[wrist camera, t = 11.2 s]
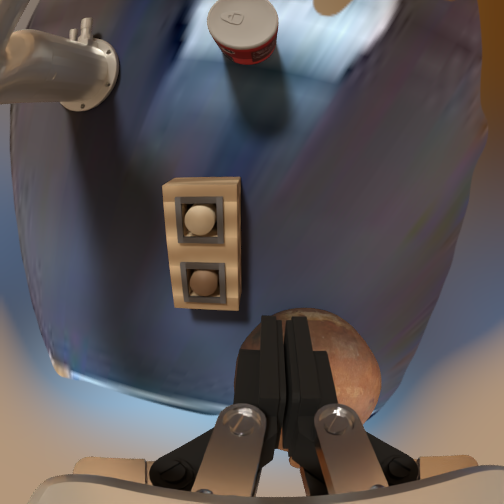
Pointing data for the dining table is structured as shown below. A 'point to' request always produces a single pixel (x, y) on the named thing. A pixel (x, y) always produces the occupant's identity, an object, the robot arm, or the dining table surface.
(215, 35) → the canned food
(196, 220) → the maple peg
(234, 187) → the oak block
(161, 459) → the robot arm
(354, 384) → the pottery
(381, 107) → the dining table surface
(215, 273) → the walnut peg
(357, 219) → the dining table surface
